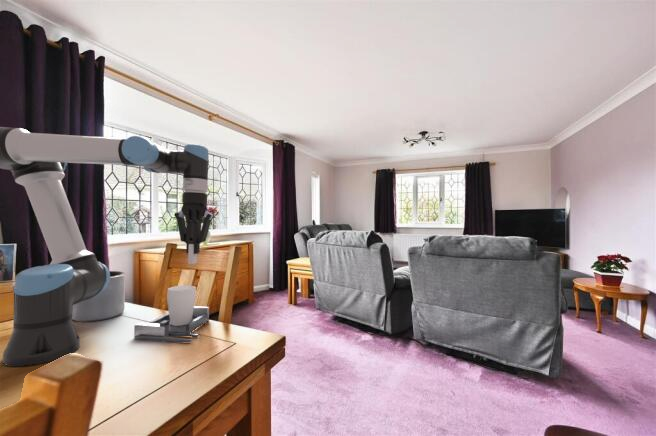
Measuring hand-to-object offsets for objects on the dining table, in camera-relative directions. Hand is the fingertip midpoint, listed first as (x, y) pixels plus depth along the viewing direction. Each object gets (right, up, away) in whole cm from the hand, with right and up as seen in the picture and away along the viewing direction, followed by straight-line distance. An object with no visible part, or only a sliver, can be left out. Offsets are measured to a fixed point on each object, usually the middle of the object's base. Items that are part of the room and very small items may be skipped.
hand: (192, 263), depth 99 cm
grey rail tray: (-6, -23, +4) cm, 24 cm away
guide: (-5, -23, -6) cm, 24 cm away
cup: (-6, -22, +5) cm, 23 cm away
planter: (-42, -22, +14) cm, 49 cm away
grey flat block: (-10, -22, -5) cm, 25 cm away
